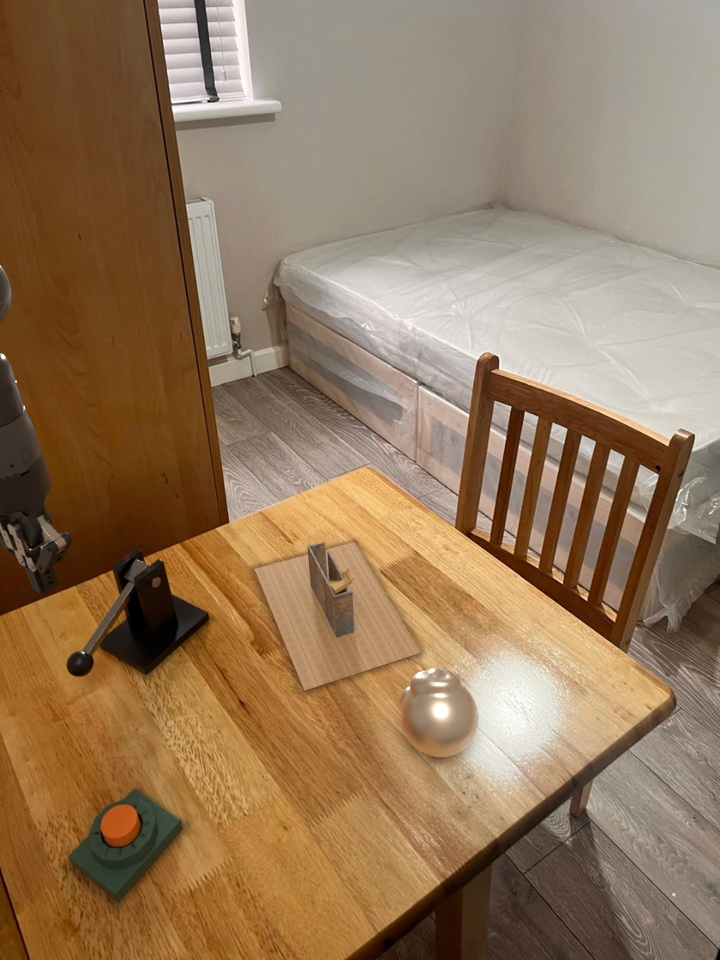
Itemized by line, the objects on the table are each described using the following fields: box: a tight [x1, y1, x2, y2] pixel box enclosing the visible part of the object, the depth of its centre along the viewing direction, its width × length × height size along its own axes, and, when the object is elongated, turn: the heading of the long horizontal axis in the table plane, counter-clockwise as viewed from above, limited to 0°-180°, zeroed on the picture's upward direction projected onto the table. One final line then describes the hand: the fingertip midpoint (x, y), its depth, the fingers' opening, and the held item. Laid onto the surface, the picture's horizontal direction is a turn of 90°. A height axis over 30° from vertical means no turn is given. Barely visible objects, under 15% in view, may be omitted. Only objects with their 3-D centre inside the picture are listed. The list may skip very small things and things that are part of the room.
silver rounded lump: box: [399, 667, 479, 758], centre depth 84 cm, size 9×10×10 cm
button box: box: [68, 787, 184, 903], centre depth 76 cm, size 9×7×4 cm
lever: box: [65, 559, 150, 678], centre depth 93 cm, size 16×3×3 cm, turn 148°
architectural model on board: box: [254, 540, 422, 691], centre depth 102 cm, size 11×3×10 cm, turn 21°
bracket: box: [99, 547, 210, 677], centre depth 98 cm, size 12×9×13 cm
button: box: [101, 805, 140, 847], centre depth 74 cm, size 4×4×2 cm
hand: (46, 588), depth 81 cm, fingers closed
